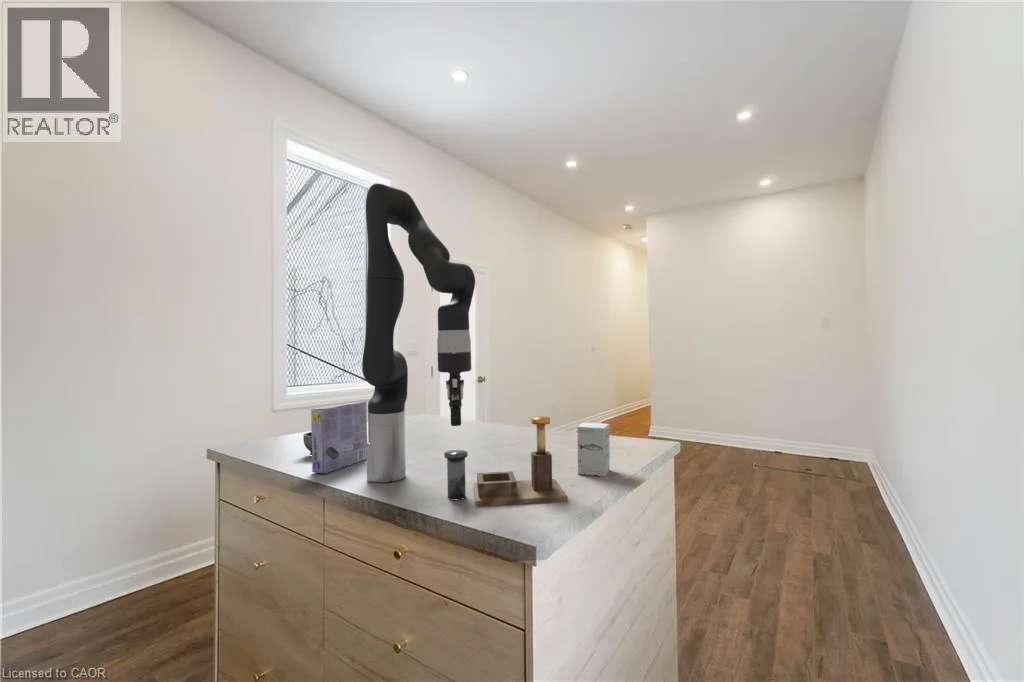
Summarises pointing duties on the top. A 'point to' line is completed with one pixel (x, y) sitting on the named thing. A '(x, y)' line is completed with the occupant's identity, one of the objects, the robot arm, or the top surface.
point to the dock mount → (520, 485)
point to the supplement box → (593, 449)
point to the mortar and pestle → (308, 441)
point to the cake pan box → (338, 436)
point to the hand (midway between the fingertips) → (456, 422)
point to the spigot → (456, 473)
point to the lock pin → (540, 432)
